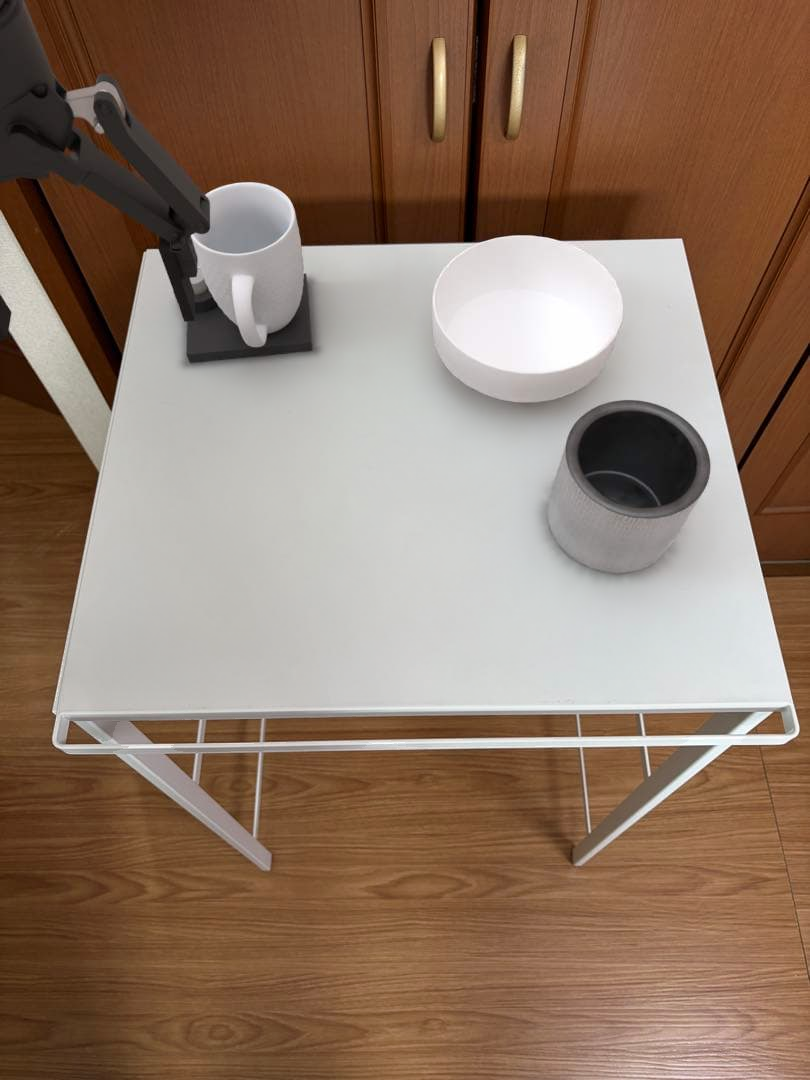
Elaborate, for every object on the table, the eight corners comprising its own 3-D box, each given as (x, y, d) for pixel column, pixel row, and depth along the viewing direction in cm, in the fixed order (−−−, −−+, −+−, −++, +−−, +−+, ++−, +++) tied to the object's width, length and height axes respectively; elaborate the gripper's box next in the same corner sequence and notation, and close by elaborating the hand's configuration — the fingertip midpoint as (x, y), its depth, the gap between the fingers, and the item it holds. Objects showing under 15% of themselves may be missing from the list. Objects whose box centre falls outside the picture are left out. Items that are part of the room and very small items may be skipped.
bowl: (606, 435, 79) (625, 382, 71) (421, 418, 80) (421, 365, 73) (605, 300, 88) (622, 241, 80) (439, 287, 89) (441, 228, 82)
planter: (533, 558, 72) (551, 498, 62) (558, 455, 78) (578, 384, 68) (664, 591, 70) (704, 534, 60) (680, 483, 76) (719, 415, 66)
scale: (178, 364, 84) (170, 345, 82) (181, 289, 90) (173, 270, 87) (312, 350, 85) (309, 331, 82) (307, 277, 91) (303, 257, 88)
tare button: (186, 296, 86) (182, 284, 84) (186, 280, 87) (182, 268, 85) (209, 294, 86) (205, 282, 84) (209, 278, 87) (205, 266, 86)
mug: (311, 374, 82) (293, 281, 70) (210, 378, 82) (176, 286, 70) (313, 277, 89) (297, 178, 77) (220, 281, 89) (191, 183, 77)
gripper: (194, -58, 39) (263, 265, 58) (-302, -23, 38) (-66, 297, 56) (193, 19, 36) (267, 337, 54) (-354, 60, 34) (-85, 372, 53)
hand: (97, 317), depth 55 cm, fingers open, 13 cm apart
